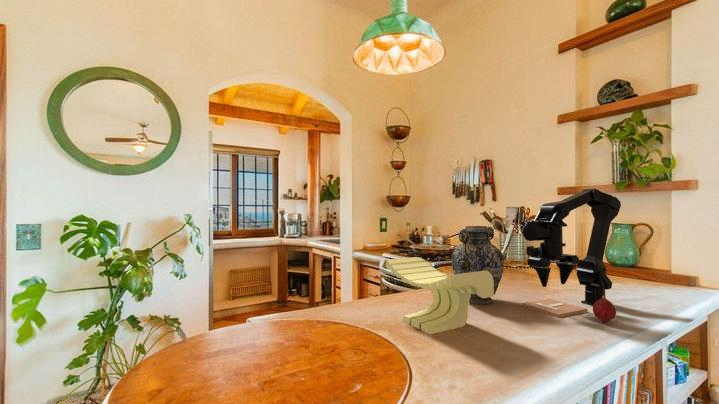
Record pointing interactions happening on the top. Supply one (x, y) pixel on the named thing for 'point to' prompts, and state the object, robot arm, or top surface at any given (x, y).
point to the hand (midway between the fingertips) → (553, 285)
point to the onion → (604, 310)
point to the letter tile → (554, 307)
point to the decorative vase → (478, 257)
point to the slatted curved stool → (441, 293)
